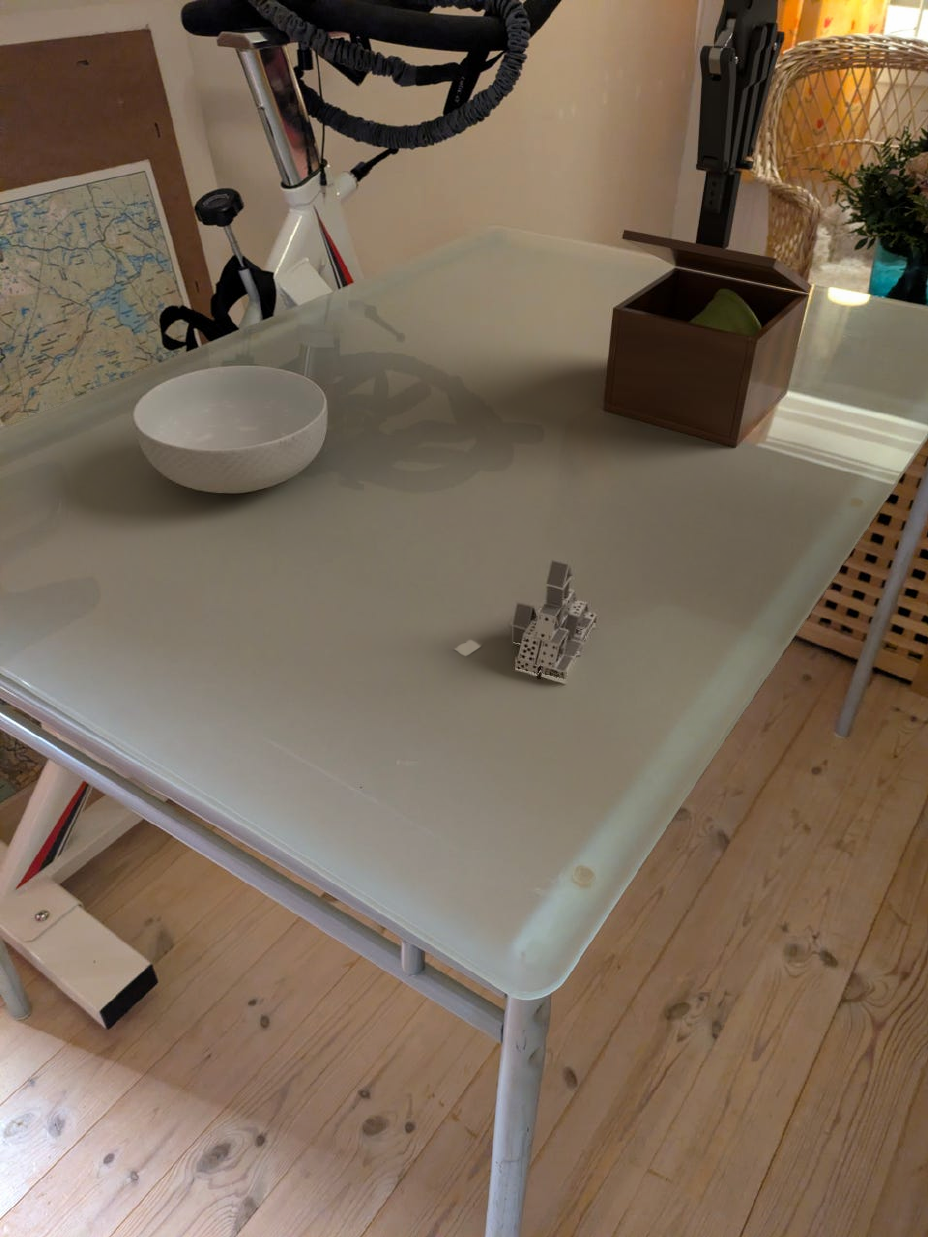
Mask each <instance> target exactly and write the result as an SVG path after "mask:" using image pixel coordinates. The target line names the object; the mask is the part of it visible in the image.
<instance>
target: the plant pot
mask: <svg viewBox="0 0 928 1237" xmlns="http://www.w3.org/2000/svg"><path fill="white" fill-rule="evenodd" d="M690 323H694V324H698V325H703V326H707V327H712V328H716V329H720V330H725V331H729V332H733V333H738V334H742V335H746V336H751V337H752V336H754V335H755V334H756V333H757V332H758V331H759V330H760V329H762V327H761V325H760V323H759V321H758V320H757V318H756V316H755V315H754V313H753V312H752V310H751V309H750V308H749V306H748V305H747V304H746V303H745V302H744V300H743V299H742V298H741V297H739V296H738V295H737V294H736V293H735V292H733V291H731V290H729V289H720V290H719V291H717V293H716V294H715V296H714V299H713V300H712V301H711V302H710V303H709V304H708V305H707V306H706V308H705V309H704V310H703V311H702V312H701V313H700V314H698V315H697V316H696V317H695V318H693V319H692V320H691V321H690Z"/></svg>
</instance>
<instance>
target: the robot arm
mask: <svg viewBox="0 0 928 1237" xmlns="http://www.w3.org/2000/svg"><path fill="white" fill-rule="evenodd" d="M778 9H779V0H723V4H722V7H721V12H720V15H719V18H718V22H717V24H716V26H715V31H714V32H715V33H714V38H713V45H703V46H702V47H701V49H700V54H699V65H700V76H701V83H700V84H701V85H700V88H701V89H700V101H699V102H700V103H699V118H698V119H699V120H698V121H699V122H698V137H697V154H696V156H697V157H696V164H695V170H696V171H700V172H705V177H704V183H703V189H702V196H701V197H702V198H701V203H700V210H699V216H698V223H697V229H696V237H695V242H694V243H697V244H702V245H708V246H713V247H718V248H723V249H728V248H729V247H730V246H729V245H730V240H731V233H732V229H733V224H734V223H733V222H734V216H735V212H736V207H737V206H736V205H737V200H738V194H739V187H740V182H741V176H742V171H740V170H744V171H751V170H752V169H753V167H754V165H755V161H752V160H747V158H752V157H753V156H754V153H755V150H756V145H757V141H758V137H759V133H760V129H761V125H762V121H763V116H764V112H765V109H766V104H767V101H768V97H769V94H770V89H771V85H772V80H773V77H774V74H775V73H774V72H775V69H776V65H777V62H778V58H779V57H780V53H781V50H782V48H783V46H784V42H785V38H786V37H785V35H786V33H785V31H783V30H781V31H780V30H778V29H779V24H778V22H777V21H778V14H779V13H778V12H779V11H778Z"/></svg>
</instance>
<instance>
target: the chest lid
mask: <svg viewBox="0 0 928 1237" xmlns="http://www.w3.org/2000/svg"><path fill="white" fill-rule="evenodd" d="M621 239H622V240H624V241H626V242H627V243H629V244H632V245H633V246H635V247H637V248H639V249H641V250H643V251H645V252H646V253H649V254H651V255H652V256H655V257H656V258H657V259H659V260H661V261H663V262H666V263H668V264H670V265H672V266H673V267H674V268H675V267H678V268H682V269H687V270H692V271H697V272H702V273H707V274H712V275H717V276H722V277H727V278H732V279H737V280H742V281H746V282H751V283H756V284H761V285H766V286H771V287H776V288H781V289H786V290H791V291H796V292H801V293H805V294H810V293H811V290H812V287H813V285H812V284H810V283H809V282H808V281H806V280H805V279H804V278H803V277H801V276H800V275H799V274H798V273H797V272H795V271H793V269H791V268H789V267H788V266H787V265H786V264H784V263H783V262H781V261H780V259H779V260H778V259H777V258H775V257H771V256H767V255H766V256H764V255H761V254H755V253H751V252H750V253H749V252H743V251H739V250H733V249H728V248H726V249H723V248H718V247H713V246H708V245H702V244H697V243H695V242H691V241H687V240H681V239H676V238H670V237H665V236H659V235H655V234H650V233H644V232H639V231H634V230H627V229H624V230H623V233H622V237H621Z"/></svg>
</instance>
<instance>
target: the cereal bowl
mask: <svg viewBox="0 0 928 1237" xmlns="http://www.w3.org/2000/svg"><path fill="white" fill-rule="evenodd" d="M328 415H329V414H328V401H327V397H326V394H325V393H324V391H323V390H322V389H321V388H320V386H319V385H318V384H317V383H316V382H314V381H312V380H311V379H309V378H307V377H305V376H303V375H301V374H299V373H295V372H292V371H289V370H286V369H281V368H275V367H269V366H263V365H262V366H261V365H229V366H218V367H211V368H209V367H208V368H205V369H199V370H195V371H191V372H187V373H183V374H181V375H178V376H175V377H172V378H169V379H168V380H166V381H163V382H161V383H159V384H157V385H156V386H154V387H153V388H151V389H150V390H148V391H147V392H146V393H145V394H144V395H143V396H142V397H141V398H140V399H139V400H138V401H137V402H136V404H135V406H134V408H133V412H132V425H133V427H134V433H135V435H136V438H137V439H136V440H137V441H138V444H139V447H140V450H141V451H142V453H143V456H145V457H146V459H147V461H148V462H149V463H150V464H151V466H152V467H153V468H155V469H156V471H157V472H159V473H160V474H161V475H162V476H163V477H166V478H167V479H168V480H171V481H172V482H174V483H176V484H179V485H180V486H184V487H186V488H188V489H193V490H195V491H201V492H204V493H205V492H207V493H214V494H215V493H216V494H245V493H251V492H255V491H259V490H260V491H261V490H263V489H267V488H270V487H274V486H276V485H278V484H280V483H283V482H284V483H285V481H288V480H289V479H292V478H293V477H295V476H296V475H298V474H299V473H301V472H302V471H304V470H305V468H307V467H308V466H309V465H310V464H311V462H313V460H315V458H316V457H317V456H318V454H319V452H320V451H321V449H322V446H323V445H324V441H325V439H326V433H327V431H328V430H327V428H328V417H329V416H328Z"/></svg>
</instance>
